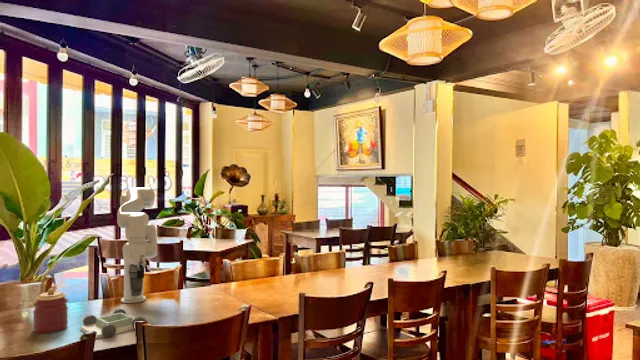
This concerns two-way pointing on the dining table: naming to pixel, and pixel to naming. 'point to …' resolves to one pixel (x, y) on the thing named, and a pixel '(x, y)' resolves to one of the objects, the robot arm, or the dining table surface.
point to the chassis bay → (109, 323)
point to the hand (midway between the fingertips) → (136, 276)
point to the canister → (50, 312)
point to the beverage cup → (135, 281)
